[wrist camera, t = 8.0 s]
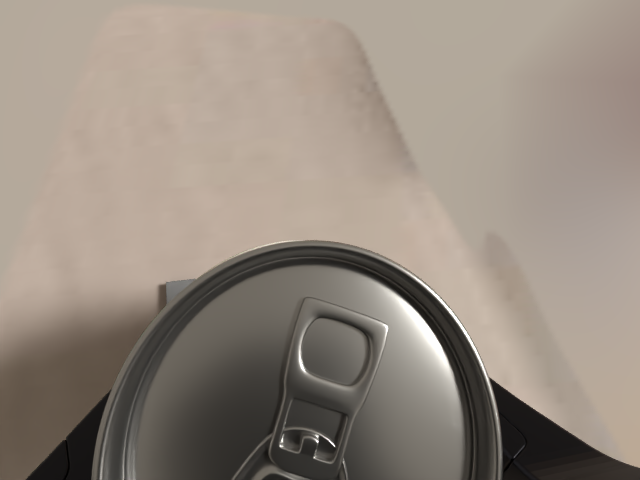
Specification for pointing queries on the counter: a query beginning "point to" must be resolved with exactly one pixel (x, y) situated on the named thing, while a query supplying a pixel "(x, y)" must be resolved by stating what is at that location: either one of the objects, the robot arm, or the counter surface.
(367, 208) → the counter surface
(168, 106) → the counter surface
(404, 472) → the can
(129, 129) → the counter surface
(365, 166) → the counter surface
